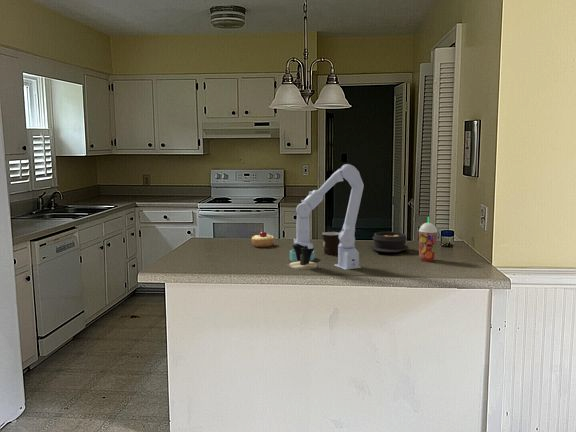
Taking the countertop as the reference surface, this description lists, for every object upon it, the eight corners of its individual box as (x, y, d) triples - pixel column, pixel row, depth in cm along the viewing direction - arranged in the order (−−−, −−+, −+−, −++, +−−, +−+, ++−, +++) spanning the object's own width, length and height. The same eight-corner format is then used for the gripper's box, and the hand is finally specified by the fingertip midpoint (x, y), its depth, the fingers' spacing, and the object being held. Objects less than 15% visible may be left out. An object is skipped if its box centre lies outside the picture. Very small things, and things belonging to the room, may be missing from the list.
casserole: (407, 256, 257) (407, 239, 256) (367, 254, 262) (367, 237, 261) (410, 246, 281) (410, 230, 280) (373, 245, 286) (373, 229, 285)
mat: (322, 268, 235) (322, 267, 235) (296, 271, 230) (296, 270, 230) (309, 262, 246) (309, 261, 246) (284, 265, 241) (284, 264, 241)
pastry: (257, 250, 278) (256, 232, 276) (248, 245, 288) (247, 228, 287) (278, 246, 283) (278, 230, 282) (268, 242, 294) (268, 226, 292)
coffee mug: (338, 256, 259) (339, 235, 258) (320, 255, 261) (320, 234, 259) (341, 251, 270) (341, 231, 269) (324, 250, 272) (324, 230, 271)
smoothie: (424, 257, 255) (425, 214, 252) (440, 260, 249) (441, 216, 246) (414, 260, 249) (415, 216, 246) (430, 263, 243) (431, 218, 241)
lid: (322, 267, 235) (322, 255, 234) (296, 270, 230) (296, 258, 229) (309, 261, 246) (309, 250, 245) (284, 264, 241) (284, 253, 240)
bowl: (318, 260, 250) (318, 252, 249) (296, 263, 245) (296, 254, 244) (307, 256, 260) (307, 247, 259) (285, 258, 255) (285, 250, 254)
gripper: (287, 229, 241) (287, 259, 243) (302, 234, 228) (302, 266, 230) (301, 228, 244) (301, 258, 245) (317, 233, 231) (317, 264, 233)
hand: (303, 262), depth 238 cm, fingers open, 6 cm apart
